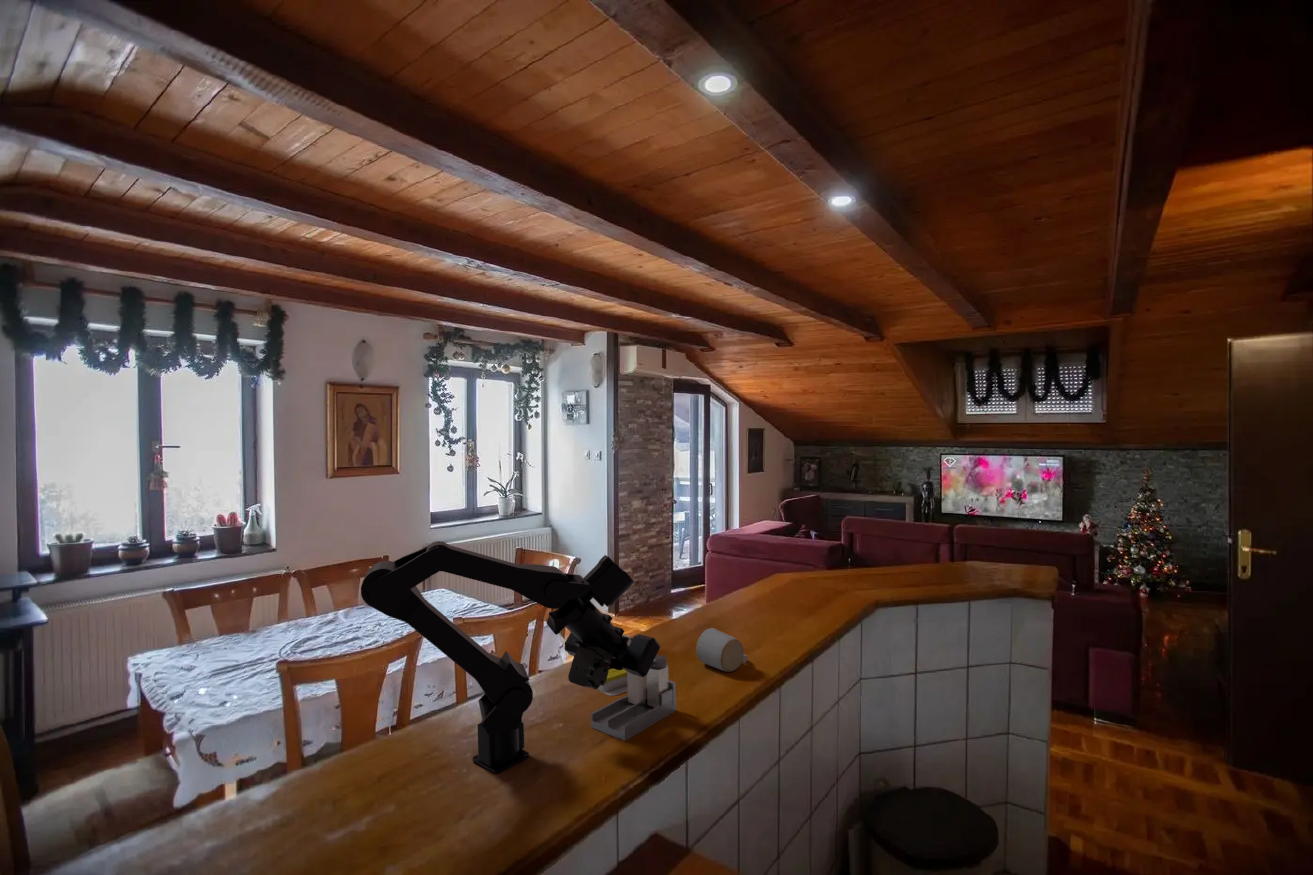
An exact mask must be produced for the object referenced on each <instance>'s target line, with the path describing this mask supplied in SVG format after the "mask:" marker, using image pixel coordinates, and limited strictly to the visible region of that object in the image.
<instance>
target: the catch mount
mask: <svg viewBox="0 0 1313 875" xmlns="http://www.w3.org/2000/svg"><path fill="white" fill-rule="evenodd" d="M667 662H668V661H667V657H666V656H664V655H662V654H657V655H656V657H655V659H654V661H653V663H652V665H651V667H650V669H649V671H648V673H647V688H646V689H644V700H642V701H640V702H638V703H636V704H633V703H630V702H628V694H626V695H624V696H622V697H620V698H617V699H616V700H615V701H612V702H611V703H608V704H606V705H604V706H602V707H600V708H599V709H597V710H595V711H593V712H592V713H590V728H591V729H594V730H596V731H599V732H601V733H604V734H606V735H609V736H611V737H614V738H617V739H618V740H621V741H623V742H626V741H628V740H629V739H632V738H633V737H635V736H636V735H638V734H640V733H641V732H643V731H644V730H646V729H648V728H649V727H650V726H652V725H654V724H656V723H657V722H659V721H661V720H663V719H664V718H666V717H668V716H670V715H671V714H673V713H675V712H676V711H677V686H676V685H677V684H676V683H677V682H676V681H672V680H669V665H668V663H667Z"/></svg>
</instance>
